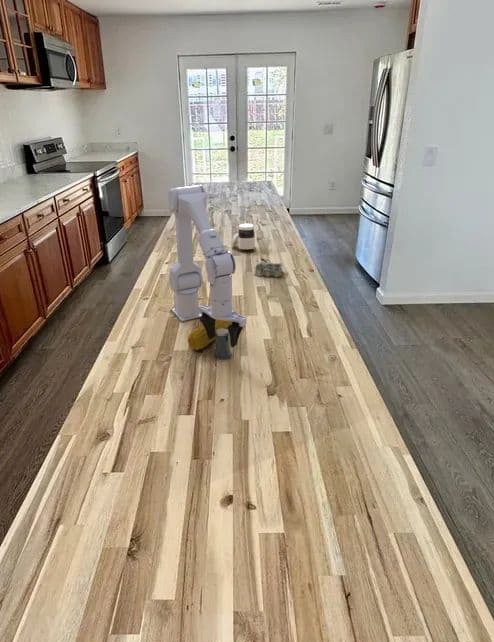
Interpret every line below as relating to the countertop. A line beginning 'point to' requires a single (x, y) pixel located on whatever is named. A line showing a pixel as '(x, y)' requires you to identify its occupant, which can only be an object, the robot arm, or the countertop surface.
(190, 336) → the food
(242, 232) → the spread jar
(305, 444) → the countertop surface
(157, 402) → the countertop surface
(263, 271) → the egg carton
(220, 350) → the shaker
